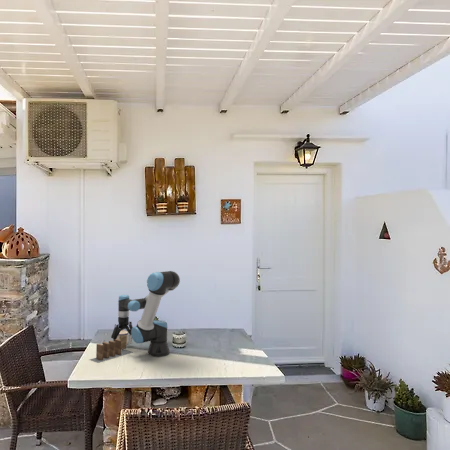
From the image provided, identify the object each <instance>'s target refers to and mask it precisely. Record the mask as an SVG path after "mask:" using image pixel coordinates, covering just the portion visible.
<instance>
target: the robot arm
mask: <svg viewBox="0 0 450 450" xmlns="http://www.w3.org/2000/svg"><path fill="white" fill-rule="evenodd" d="M180 280H181V278H180V276H179V274H178V273H177V272H175V271H174V270H169V271H168V270H167V271H155V272H152V273H150V274H149V275H148V276H147V280H146V285H147V289H148V291H149V294H148V295H146V296H145V297H144V298H143V297H141V298H135V299H130V296H129V294H120V295H119V296H118V301H117V302H118V303H117V305H118V313H117V314H118V315H117V316H118V318H117V322H118V324H114V328H113V331H112V334H111V336H110V339H112V341H114V340H115V339H116V338H117V337H118V335H119V333H120V331H122V330H123V329H124V330H125V331H127V332H128V344H129V345H132V343H133V342H134V343H136V344H143V343H146V342H147V343H149V342H150V344H149V346H148V349H147V354H148V355H149V356H151V357H164V356H165V357H166V356H168V355H169V354H170V348H169V345H168V323H167V321H164V320H158V319H156V315H157V312H158V309H159V306H160V303H161V300H162V297H164V296H165V295H166V294H168V293H169V292H171V291H174V290H175V289H176V288H178V287H179V285H180V282H181V281H180ZM139 310H143V313H142V315H141V318H140V319H138V321H137V324H136V325H134V326H133V323H132V321H130V316H129V315H130V311H131V312H138V311H139ZM132 340H133V342H132Z"/></svg>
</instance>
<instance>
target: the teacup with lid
mask: <svg viewBox="0 0 450 450" xmlns="http://www.w3.org/2000/svg"><path fill="white" fill-rule="evenodd" d="M122 335H127V341H126V345H128V344H129V343H128V335H129V333H128V331H127V330H126V329H123V330H122V331H120V333H119V335H118V337H117V338H116V339H118V340H120V336H122Z"/></svg>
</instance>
